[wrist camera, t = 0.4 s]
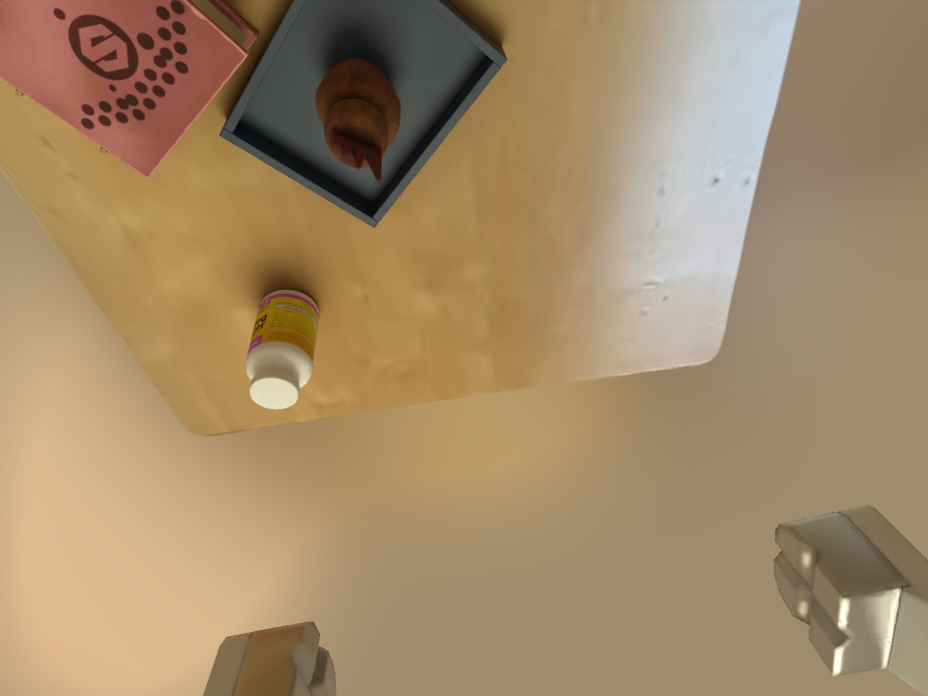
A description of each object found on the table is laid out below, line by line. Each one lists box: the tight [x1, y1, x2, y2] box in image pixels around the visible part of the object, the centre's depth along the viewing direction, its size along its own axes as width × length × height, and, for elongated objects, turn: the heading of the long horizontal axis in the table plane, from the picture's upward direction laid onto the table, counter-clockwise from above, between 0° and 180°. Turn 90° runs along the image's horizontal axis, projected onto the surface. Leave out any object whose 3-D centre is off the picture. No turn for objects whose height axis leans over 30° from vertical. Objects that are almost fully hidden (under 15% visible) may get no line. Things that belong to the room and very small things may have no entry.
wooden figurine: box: [316, 58, 401, 181], centre depth 47 cm, size 7×6×15 cm
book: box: [0, 0, 259, 178], centre depth 46 cm, size 14×15×5 cm
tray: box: [220, 0, 507, 228], centre depth 51 cm, size 20×16×3 cm
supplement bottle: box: [245, 290, 319, 409], centre depth 64 cm, size 7×7×13 cm
